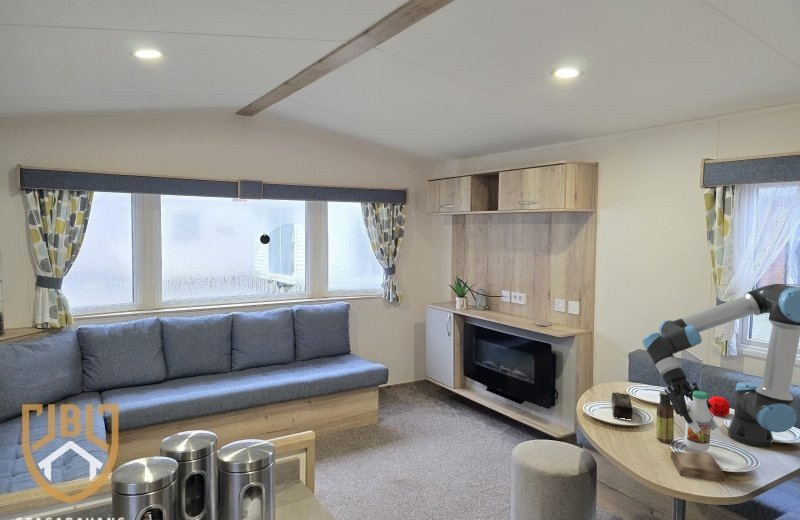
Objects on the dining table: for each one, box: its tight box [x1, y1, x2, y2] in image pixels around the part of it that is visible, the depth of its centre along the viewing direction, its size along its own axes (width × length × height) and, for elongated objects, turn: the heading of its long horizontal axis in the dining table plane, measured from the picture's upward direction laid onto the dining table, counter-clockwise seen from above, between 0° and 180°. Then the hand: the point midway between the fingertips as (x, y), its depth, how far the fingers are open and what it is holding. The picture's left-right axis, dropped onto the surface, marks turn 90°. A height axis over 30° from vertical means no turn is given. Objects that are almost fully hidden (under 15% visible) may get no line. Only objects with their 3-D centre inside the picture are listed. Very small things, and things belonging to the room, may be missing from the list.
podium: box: [670, 450, 727, 482], centre depth 185 cm, size 14×14×3 cm
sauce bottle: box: [655, 390, 675, 444], centre depth 207 cm, size 7×6×20 cm
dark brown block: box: [611, 391, 634, 420], centre depth 237 cm, size 8×19×7 cm, turn 160°
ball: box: [708, 395, 731, 417], centre depth 234 cm, size 8×8×8 cm
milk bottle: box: [684, 390, 711, 452], centre depth 183 cm, size 8×8×20 cm
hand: (706, 430), depth 180 cm, fingers closed on milk bottle, 7 cm apart
